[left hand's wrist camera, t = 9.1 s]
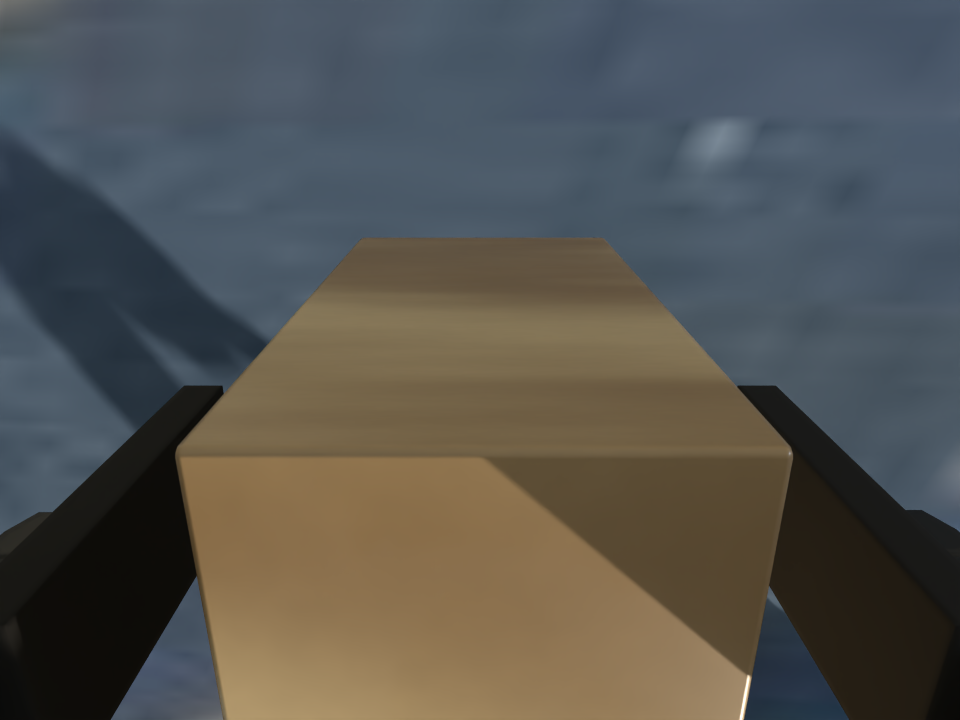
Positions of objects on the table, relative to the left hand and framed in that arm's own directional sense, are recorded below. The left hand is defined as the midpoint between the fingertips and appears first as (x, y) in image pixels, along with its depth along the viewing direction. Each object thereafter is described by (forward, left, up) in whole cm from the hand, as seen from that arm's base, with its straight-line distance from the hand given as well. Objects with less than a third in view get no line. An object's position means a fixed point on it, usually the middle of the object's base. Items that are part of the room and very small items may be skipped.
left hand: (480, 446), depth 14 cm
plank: (0, +10, -1) cm, 10 cm away
